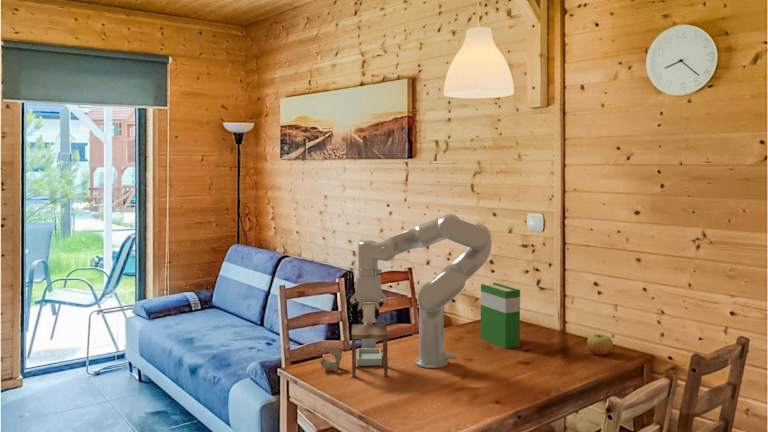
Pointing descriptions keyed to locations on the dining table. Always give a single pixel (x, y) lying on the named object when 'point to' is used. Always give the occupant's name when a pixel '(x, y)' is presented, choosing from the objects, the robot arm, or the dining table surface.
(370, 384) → the dining table surface
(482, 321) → the hardback book
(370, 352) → the grey armchair
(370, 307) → the pale upright block
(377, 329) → the small wooden stool
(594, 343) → the apple
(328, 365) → the grey curved piece
